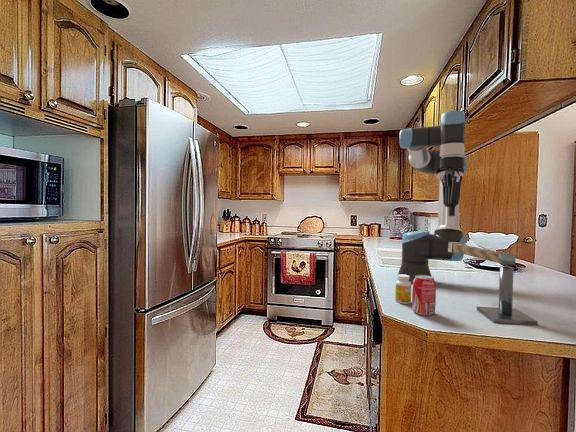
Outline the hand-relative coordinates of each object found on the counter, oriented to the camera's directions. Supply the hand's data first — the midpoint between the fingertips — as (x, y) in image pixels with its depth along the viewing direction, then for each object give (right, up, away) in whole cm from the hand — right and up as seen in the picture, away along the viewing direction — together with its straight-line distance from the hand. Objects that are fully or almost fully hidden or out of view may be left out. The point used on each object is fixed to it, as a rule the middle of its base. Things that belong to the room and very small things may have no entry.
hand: (450, 225), depth 111 cm
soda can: (-12, -29, -6) cm, 32 cm away
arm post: (+13, -29, -10) cm, 33 cm away
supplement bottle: (-14, -28, +6) cm, 32 cm away
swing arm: (+12, -12, +4) cm, 17 cm away
